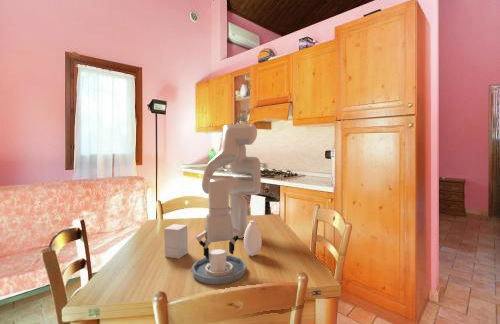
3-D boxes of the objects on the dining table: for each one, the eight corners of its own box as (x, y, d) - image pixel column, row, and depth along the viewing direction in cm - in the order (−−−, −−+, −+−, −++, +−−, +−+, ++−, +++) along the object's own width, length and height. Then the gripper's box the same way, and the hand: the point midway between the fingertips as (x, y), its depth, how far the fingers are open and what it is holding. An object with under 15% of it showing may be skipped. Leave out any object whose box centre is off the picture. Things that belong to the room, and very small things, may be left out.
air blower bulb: (248, 260, 113) (248, 218, 112) (240, 253, 120) (240, 213, 119) (264, 256, 117) (265, 215, 116) (256, 250, 123) (256, 212, 122)
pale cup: (209, 265, 106) (209, 248, 105) (226, 265, 106) (226, 247, 106) (208, 273, 99) (208, 255, 99) (227, 273, 100) (227, 254, 99)
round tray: (234, 257, 116) (234, 252, 116) (253, 278, 98) (253, 271, 97) (187, 265, 108) (187, 259, 108) (198, 289, 90) (198, 282, 90)
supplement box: (188, 252, 121) (188, 225, 120) (178, 259, 114) (178, 229, 113) (174, 250, 123) (173, 223, 123) (164, 256, 116) (163, 228, 116)
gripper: (236, 206, 108) (236, 248, 110) (194, 211, 102) (194, 255, 103) (243, 211, 102) (243, 255, 103) (198, 216, 95) (199, 263, 96)
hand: (219, 255), depth 103 cm, fingers open, 9 cm apart
